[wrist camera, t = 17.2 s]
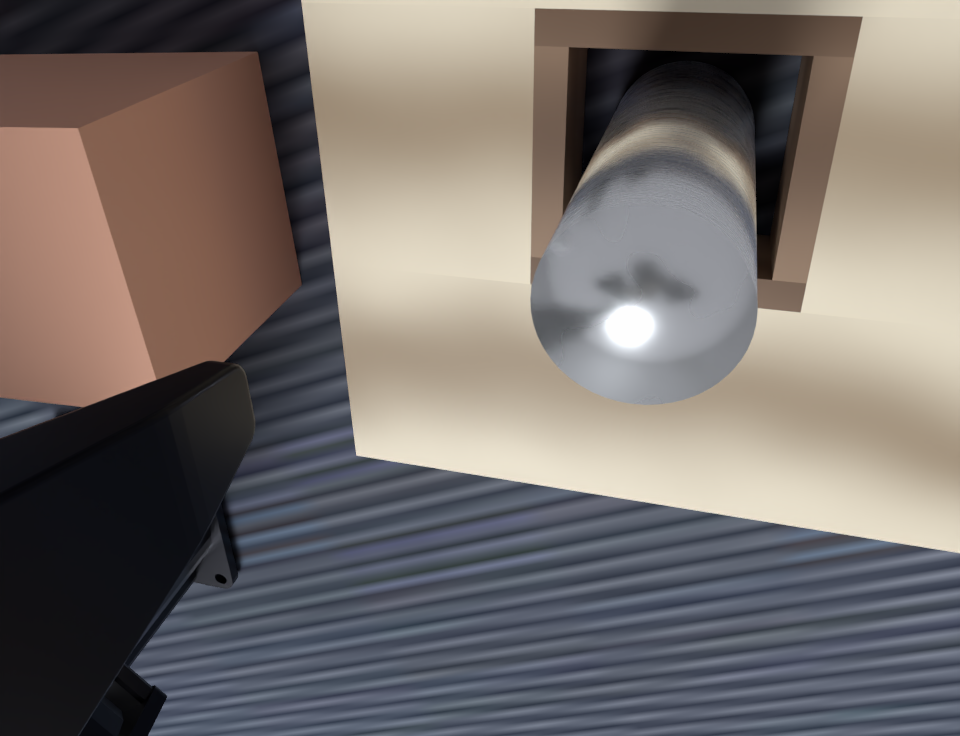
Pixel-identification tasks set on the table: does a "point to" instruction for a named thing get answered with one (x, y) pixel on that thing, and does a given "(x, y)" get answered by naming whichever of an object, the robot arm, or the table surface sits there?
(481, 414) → the pin board
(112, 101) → the block
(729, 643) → the table surface
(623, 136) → the steel pin
